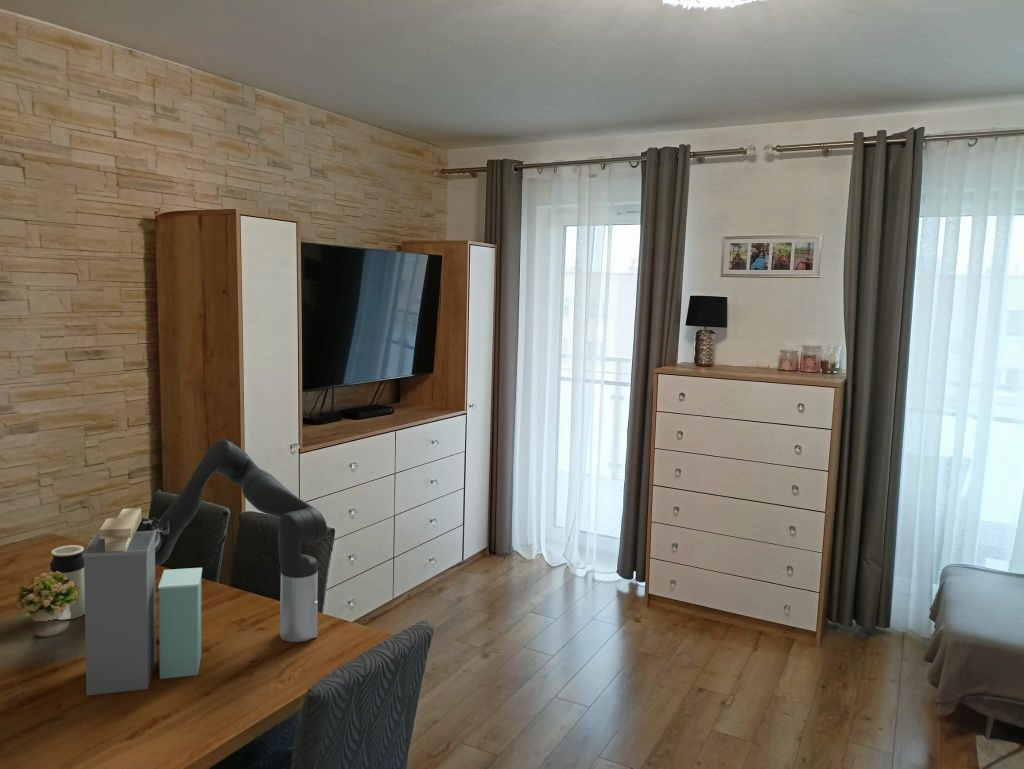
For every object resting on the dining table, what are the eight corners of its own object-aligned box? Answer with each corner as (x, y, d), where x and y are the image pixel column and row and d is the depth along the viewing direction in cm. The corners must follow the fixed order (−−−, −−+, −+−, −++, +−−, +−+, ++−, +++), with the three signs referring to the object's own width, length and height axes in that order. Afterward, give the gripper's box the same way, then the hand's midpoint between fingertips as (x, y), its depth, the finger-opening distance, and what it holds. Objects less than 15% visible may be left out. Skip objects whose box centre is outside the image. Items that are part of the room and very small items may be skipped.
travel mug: (85, 618, 197) (83, 553, 195) (49, 623, 194) (48, 556, 192) (87, 606, 204) (86, 543, 202) (53, 610, 201) (51, 546, 199)
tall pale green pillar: (202, 654, 182) (202, 567, 180) (198, 675, 172) (198, 584, 170) (164, 657, 180) (164, 569, 177) (158, 679, 170) (158, 586, 167)
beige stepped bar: (146, 519, 182) (145, 499, 181) (131, 550, 161) (130, 528, 160) (118, 521, 180) (118, 500, 179) (99, 552, 159) (99, 529, 158)
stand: (156, 660, 178) (155, 530, 174) (148, 689, 166) (147, 550, 162) (98, 665, 174) (96, 533, 170) (85, 696, 162) (82, 553, 158)
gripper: (114, 522, 195) (102, 508, 181) (173, 520, 200) (166, 505, 186) (111, 551, 193) (99, 539, 178) (172, 548, 197) (165, 535, 183)
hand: (134, 522), depth 182 cm, fingers open, 8 cm apart
